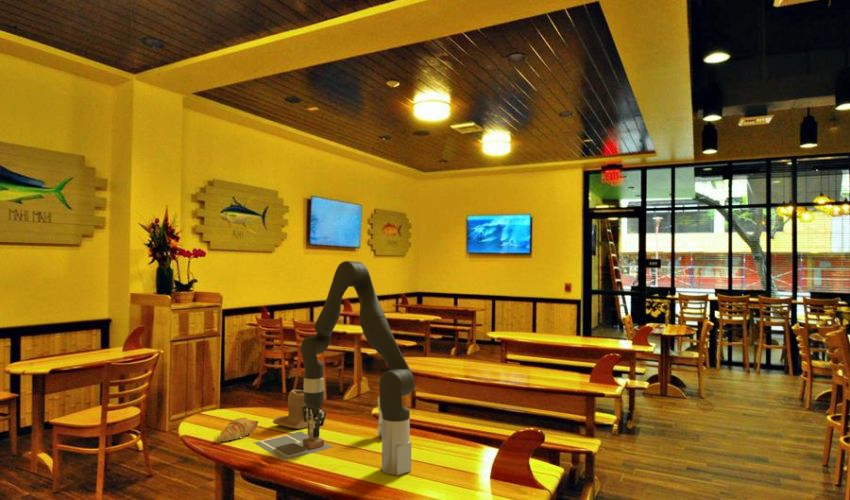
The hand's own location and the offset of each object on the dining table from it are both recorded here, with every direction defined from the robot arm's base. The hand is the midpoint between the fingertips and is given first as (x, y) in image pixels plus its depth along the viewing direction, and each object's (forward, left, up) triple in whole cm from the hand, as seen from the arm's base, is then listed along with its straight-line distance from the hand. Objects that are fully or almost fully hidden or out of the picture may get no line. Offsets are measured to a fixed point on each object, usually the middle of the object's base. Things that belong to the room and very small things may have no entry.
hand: (313, 435), depth 192 cm
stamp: (0, 0, -3) cm, 3 cm away
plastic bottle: (-8, -28, -5) cm, 29 cm away
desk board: (+6, +5, -5) cm, 9 cm away
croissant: (+33, +15, -5) cm, 36 cm away
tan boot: (+28, -8, -5) cm, 30 cm away
